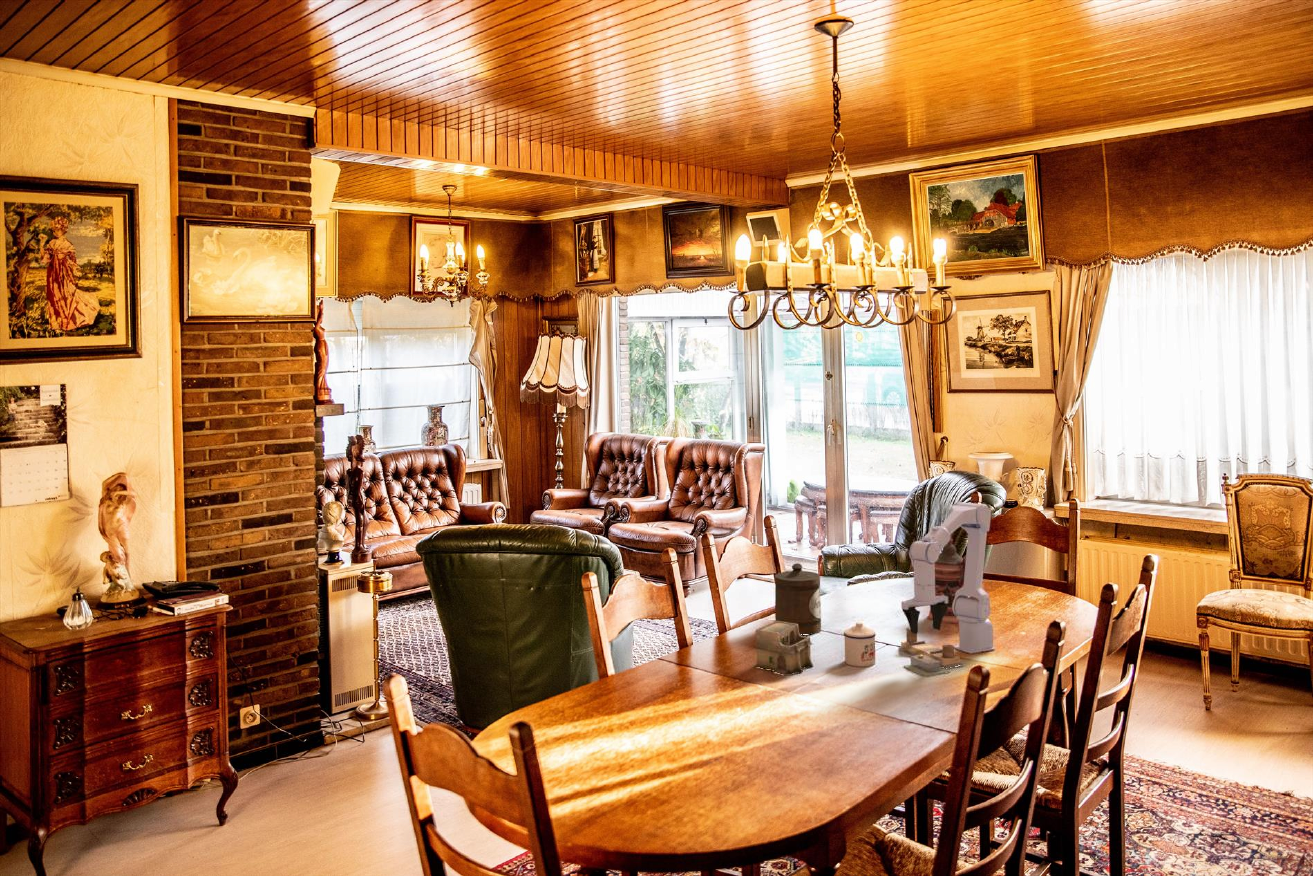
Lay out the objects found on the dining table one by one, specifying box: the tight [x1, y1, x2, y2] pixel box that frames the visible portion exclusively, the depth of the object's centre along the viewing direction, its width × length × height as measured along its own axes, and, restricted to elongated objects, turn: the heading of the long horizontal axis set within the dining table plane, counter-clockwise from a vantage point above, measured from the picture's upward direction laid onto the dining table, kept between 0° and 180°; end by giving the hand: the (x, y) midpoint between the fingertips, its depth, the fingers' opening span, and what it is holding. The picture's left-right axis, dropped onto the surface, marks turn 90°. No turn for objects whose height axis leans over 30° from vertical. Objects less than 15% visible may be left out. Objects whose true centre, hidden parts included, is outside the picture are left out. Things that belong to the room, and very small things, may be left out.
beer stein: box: [926, 537, 978, 624], centre depth 330 cm, size 17×28×18 cm
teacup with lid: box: [843, 621, 876, 668], centre depth 286 cm, size 12×9×12 cm
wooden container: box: [774, 562, 822, 635], centre depth 323 cm, size 15×15×22 cm
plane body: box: [898, 627, 964, 670], centre depth 288 cm, size 22×6×6 cm, turn 22°
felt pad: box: [903, 664, 950, 677], centre depth 277 cm, size 8×10×1 cm
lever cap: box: [910, 654, 940, 673], centre depth 277 cm, size 8×4×3 cm, turn 22°
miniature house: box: [753, 620, 814, 676], centre depth 284 cm, size 15×14×11 cm
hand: (925, 631), depth 279 cm, fingers open, 7 cm apart
